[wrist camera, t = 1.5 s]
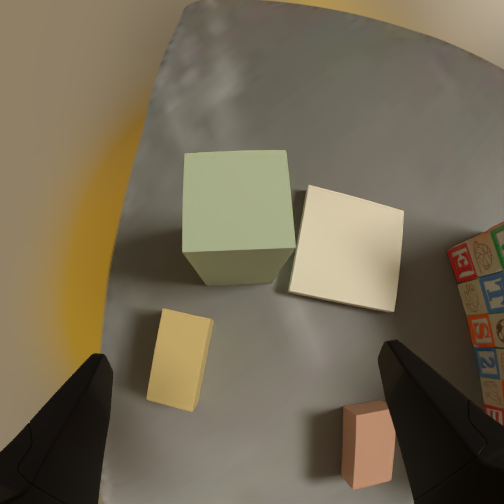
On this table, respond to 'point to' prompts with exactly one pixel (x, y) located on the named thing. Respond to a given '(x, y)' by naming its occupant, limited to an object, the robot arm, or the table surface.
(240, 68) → the table surface
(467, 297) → the stack of blocks
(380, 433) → the terracotta brick
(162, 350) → the ochre brick
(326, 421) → the table surface
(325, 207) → the cream square slab
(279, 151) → the sage brick
